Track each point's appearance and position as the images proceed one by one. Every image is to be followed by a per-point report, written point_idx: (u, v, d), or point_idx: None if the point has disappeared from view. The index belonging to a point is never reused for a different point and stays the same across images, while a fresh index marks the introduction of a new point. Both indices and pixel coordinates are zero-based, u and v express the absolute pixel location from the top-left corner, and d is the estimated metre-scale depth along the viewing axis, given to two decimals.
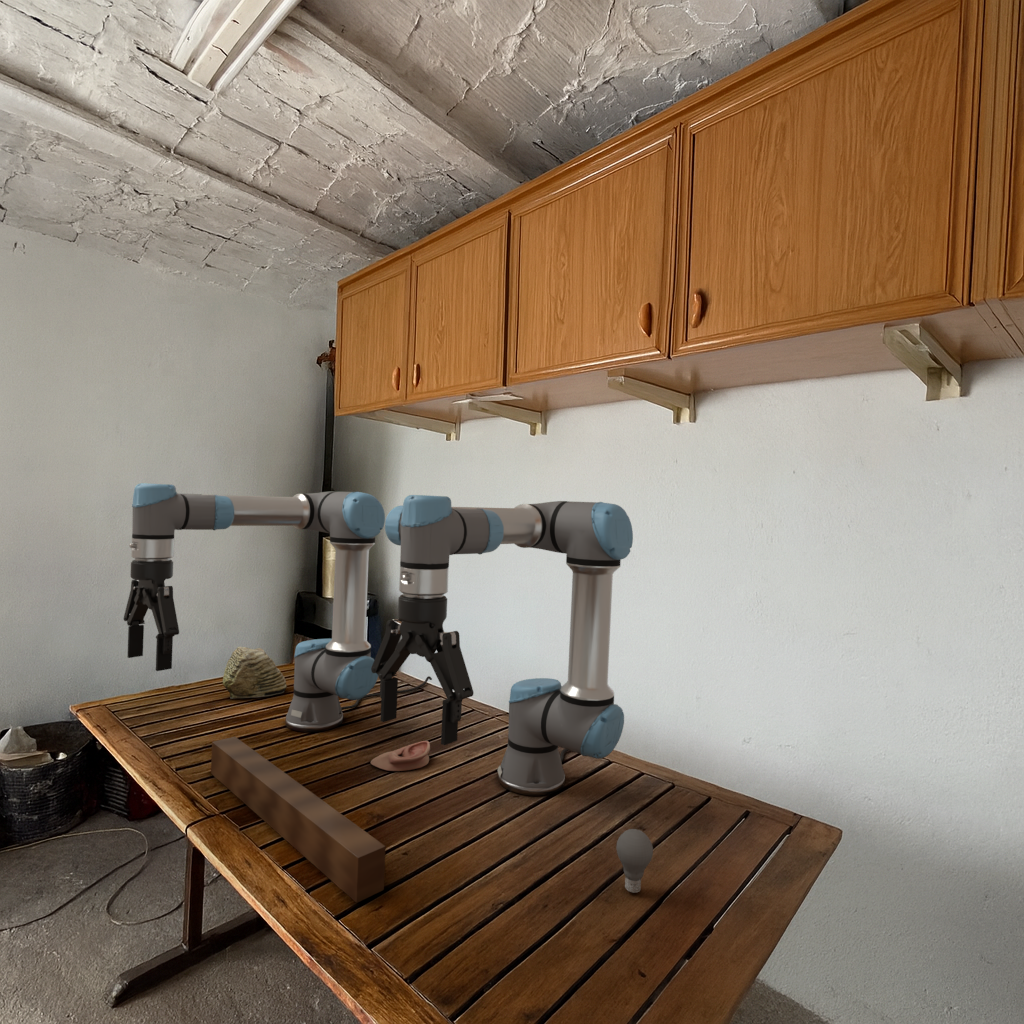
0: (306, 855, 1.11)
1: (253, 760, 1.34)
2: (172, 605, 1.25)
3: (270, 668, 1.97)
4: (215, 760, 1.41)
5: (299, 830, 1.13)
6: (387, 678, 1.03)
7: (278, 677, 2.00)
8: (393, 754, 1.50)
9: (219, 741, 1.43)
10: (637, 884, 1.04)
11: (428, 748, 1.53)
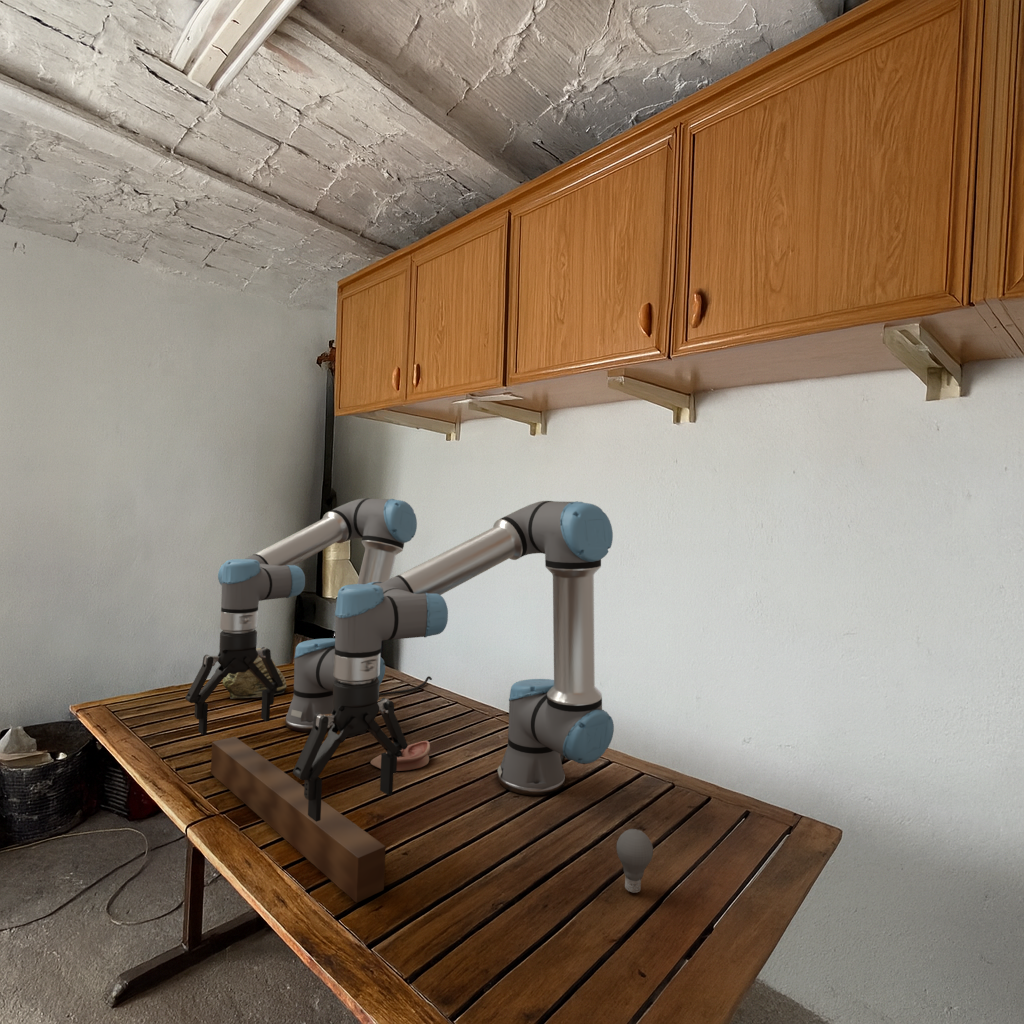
0: (306, 855, 1.11)
1: (253, 760, 1.34)
2: None
3: None
4: (215, 760, 1.41)
5: (299, 830, 1.13)
6: None
7: None
8: None
9: (219, 741, 1.43)
10: (637, 884, 1.04)
11: (428, 748, 1.53)
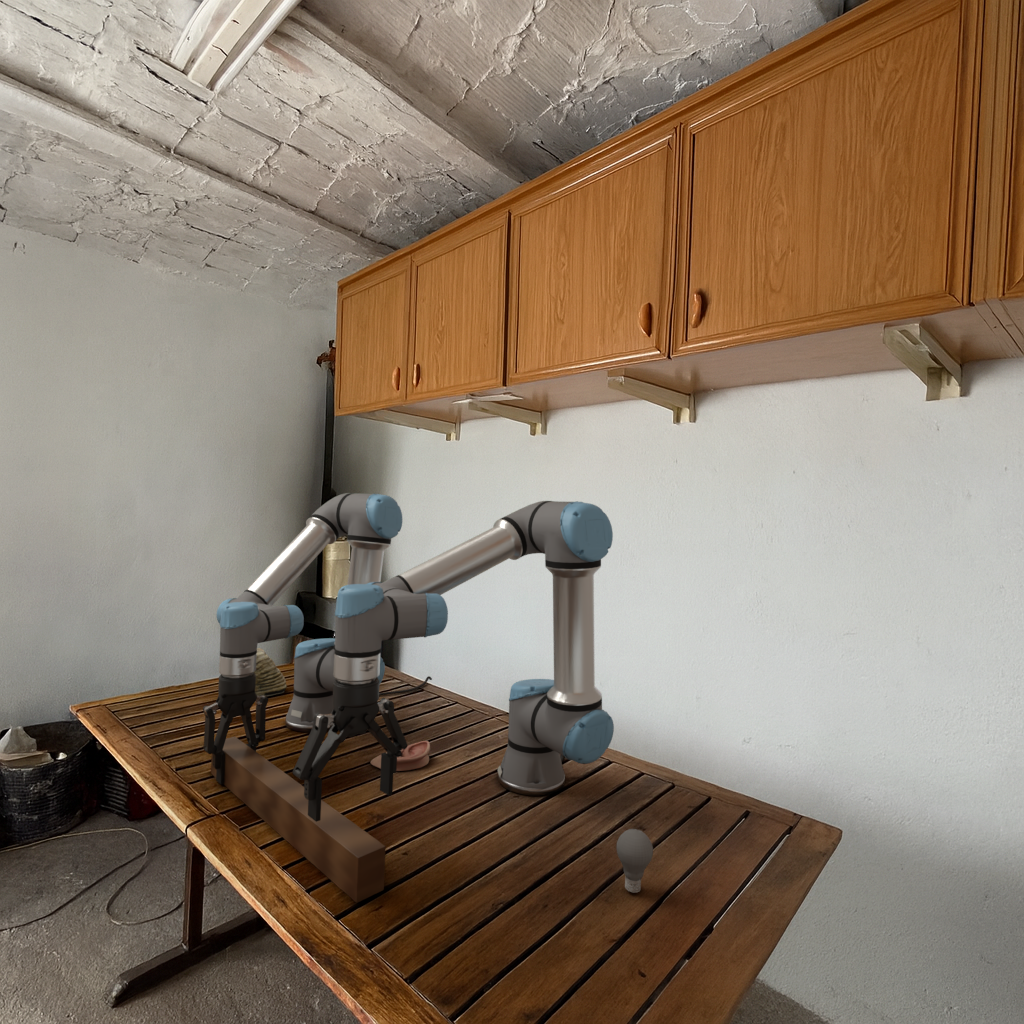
0: (306, 855, 1.11)
1: (253, 760, 1.34)
2: None
3: (270, 668, 1.97)
4: None
5: (299, 830, 1.13)
6: None
7: (278, 677, 2.00)
8: None
9: None
10: (637, 884, 1.04)
11: (428, 748, 1.53)
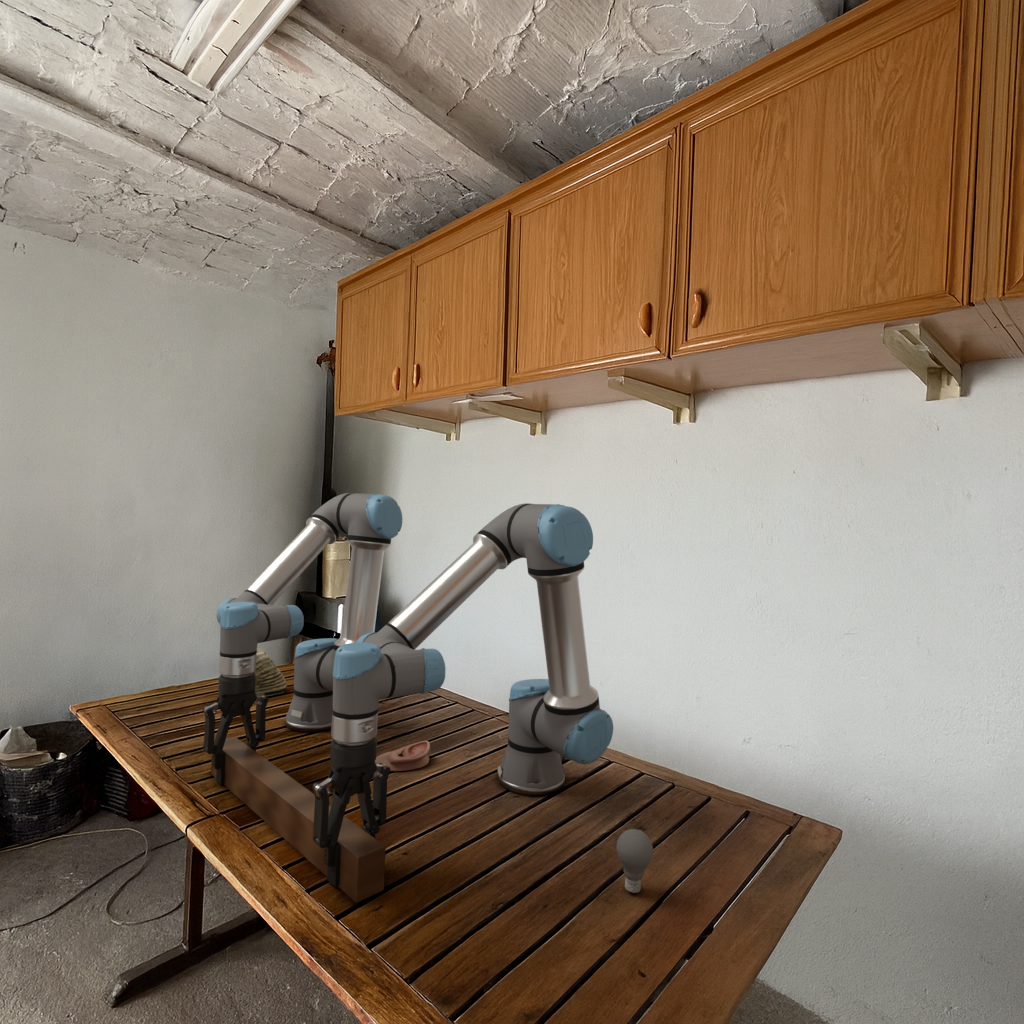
0: (306, 855, 1.11)
1: (253, 760, 1.34)
2: None
3: (270, 668, 1.97)
4: None
5: (299, 830, 1.13)
6: None
7: (278, 677, 2.00)
8: (393, 754, 1.50)
9: None
10: (637, 884, 1.04)
11: (428, 748, 1.53)
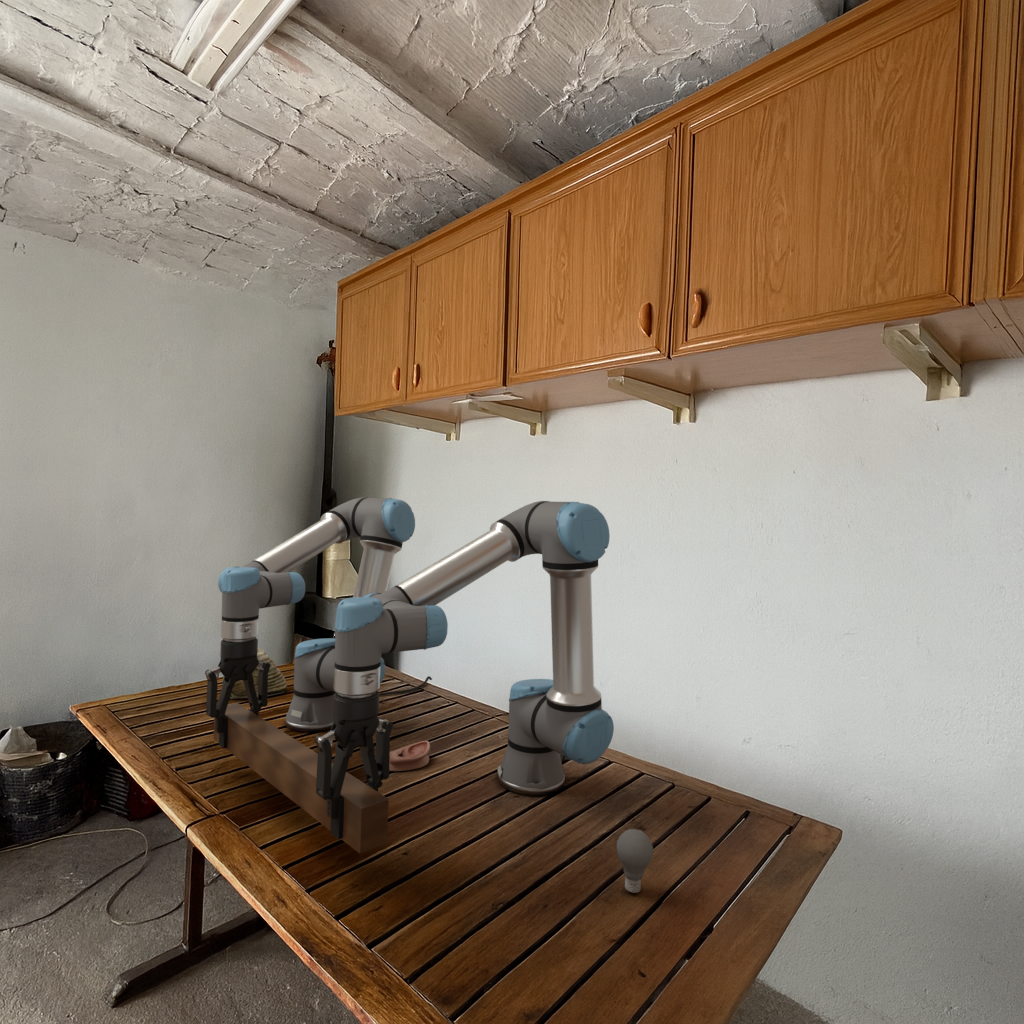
0: (310, 810, 1.11)
1: (255, 723, 1.34)
2: None
3: (270, 668, 1.97)
4: None
5: (302, 787, 1.13)
6: None
7: (278, 677, 2.00)
8: (393, 754, 1.50)
9: None
10: (637, 884, 1.04)
11: (428, 748, 1.53)
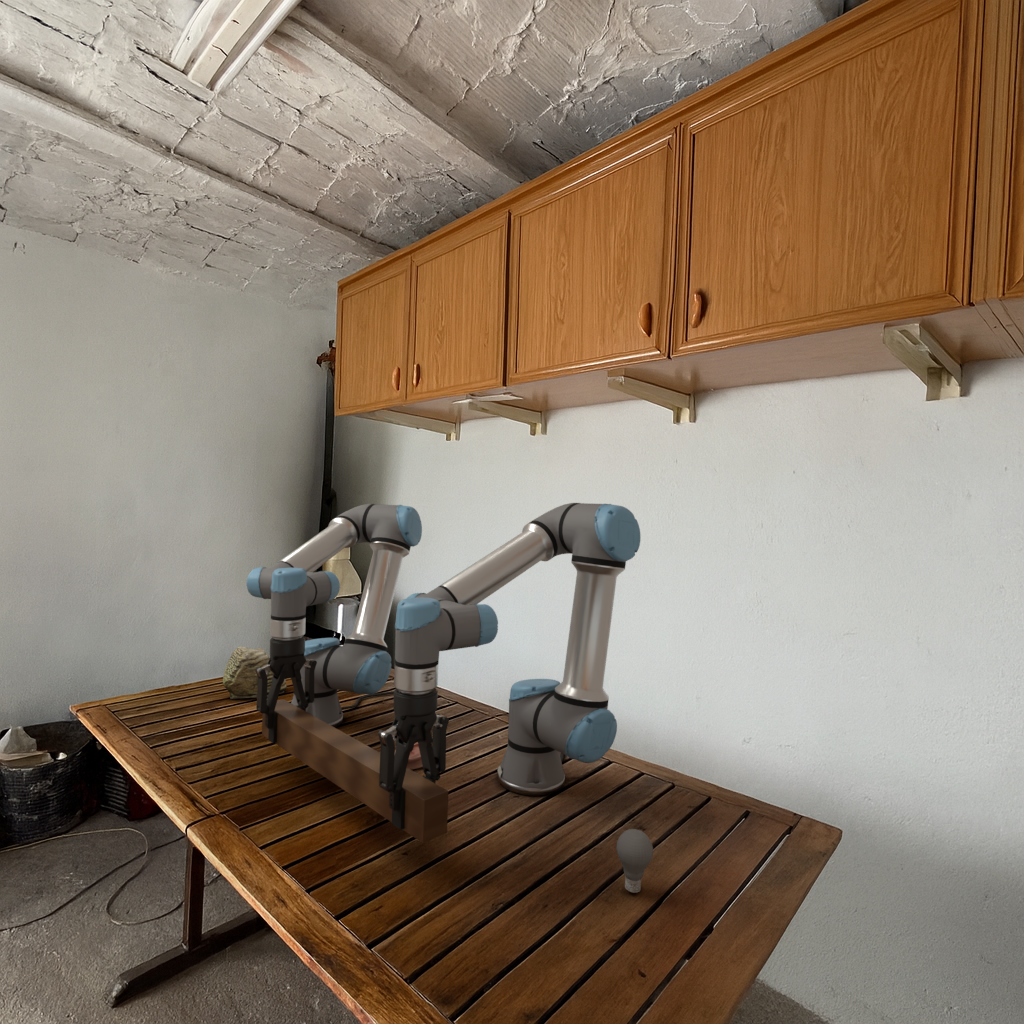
0: (368, 803, 1.15)
1: (305, 719, 1.38)
2: None
3: None
4: None
5: (359, 780, 1.17)
6: None
7: None
8: None
9: None
10: (637, 884, 1.04)
11: None
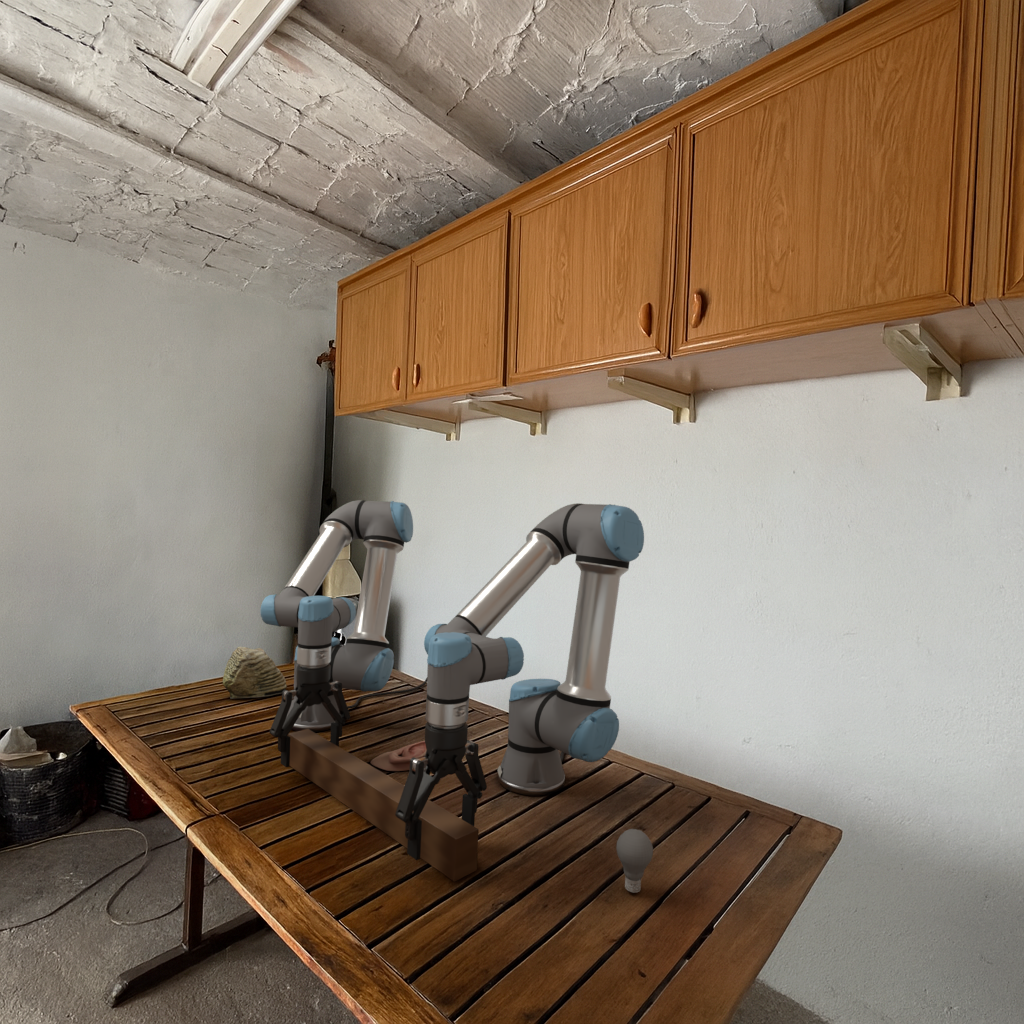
0: (398, 838, 1.18)
1: (332, 750, 1.40)
2: None
3: (270, 668, 1.97)
4: (292, 751, 1.47)
5: (389, 815, 1.20)
6: None
7: (278, 677, 2.00)
8: (393, 754, 1.50)
9: (295, 733, 1.49)
10: (637, 884, 1.04)
11: None
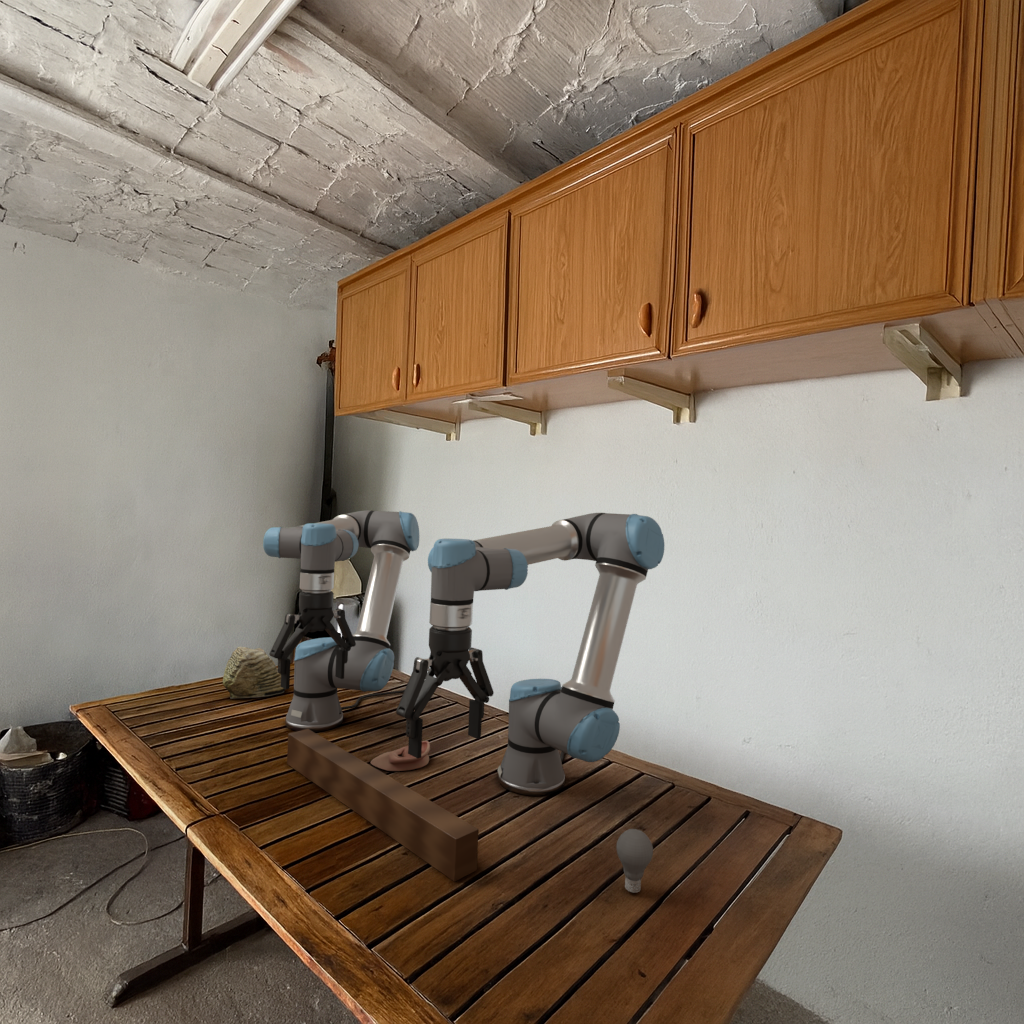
0: (398, 838, 1.18)
1: (332, 750, 1.40)
2: None
3: (270, 668, 1.97)
4: (292, 751, 1.47)
5: (389, 815, 1.20)
6: None
7: (278, 677, 2.00)
8: (393, 754, 1.50)
9: (295, 733, 1.49)
10: (637, 884, 1.04)
11: (428, 748, 1.53)
